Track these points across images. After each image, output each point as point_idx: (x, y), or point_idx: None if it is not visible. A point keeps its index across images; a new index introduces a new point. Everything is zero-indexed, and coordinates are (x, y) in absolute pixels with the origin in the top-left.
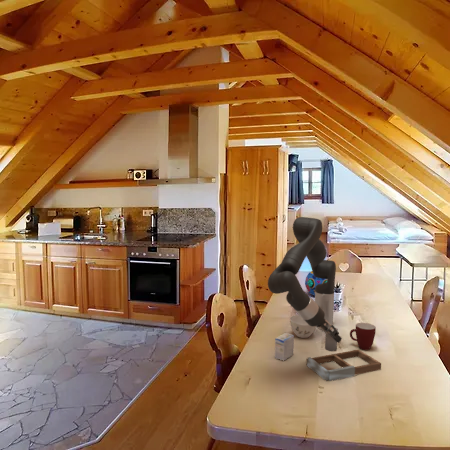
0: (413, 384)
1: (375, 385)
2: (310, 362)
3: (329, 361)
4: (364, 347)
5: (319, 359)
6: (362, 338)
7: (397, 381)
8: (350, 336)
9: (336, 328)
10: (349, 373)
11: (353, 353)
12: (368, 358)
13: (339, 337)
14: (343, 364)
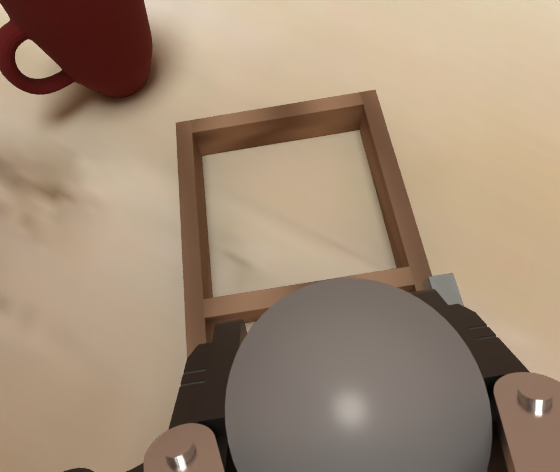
0: (539, 56)
1: (556, 230)
2: None
3: None
4: (142, 78)
5: None
6: (116, 43)
7: (508, 105)
8: (27, 89)
9: (349, 291)
10: None
11: (196, 168)
12: (289, 122)
13: (494, 338)
14: None
